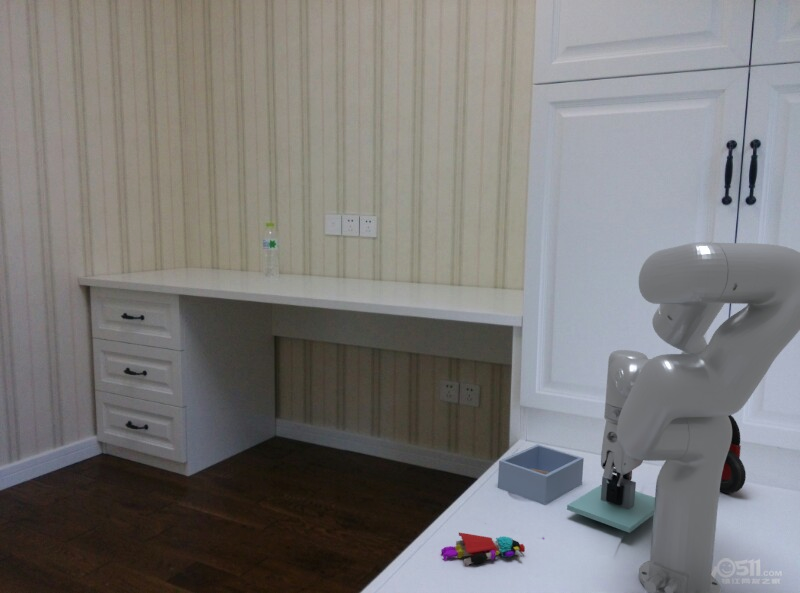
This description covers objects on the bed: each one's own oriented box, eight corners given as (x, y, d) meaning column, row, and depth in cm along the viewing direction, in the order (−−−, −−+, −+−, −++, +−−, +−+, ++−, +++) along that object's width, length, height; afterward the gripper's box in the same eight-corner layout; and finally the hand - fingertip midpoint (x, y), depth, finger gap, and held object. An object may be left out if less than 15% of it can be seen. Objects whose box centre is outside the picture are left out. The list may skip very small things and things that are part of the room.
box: (544, 508, 137) (546, 476, 136) (497, 491, 145) (499, 460, 144) (581, 487, 148) (583, 458, 148) (536, 472, 157) (537, 444, 156)
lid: (629, 537, 122) (632, 502, 121) (566, 514, 131) (569, 481, 130) (664, 510, 134) (667, 477, 133) (605, 490, 143) (607, 459, 142)
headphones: (713, 481, 155) (720, 399, 152) (750, 498, 146) (759, 411, 143) (657, 492, 147) (664, 406, 145) (693, 510, 138) (701, 419, 136)
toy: (446, 570, 112) (530, 566, 114) (447, 549, 112) (531, 545, 114) (437, 547, 120) (516, 544, 122) (438, 527, 119) (517, 524, 121)
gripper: (624, 426, 121) (617, 519, 124) (659, 409, 133) (651, 495, 135) (587, 416, 126) (581, 506, 129) (624, 401, 138) (617, 484, 140)
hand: (617, 500), depth 132 cm, fingers closed on lid, 2 cm apart
